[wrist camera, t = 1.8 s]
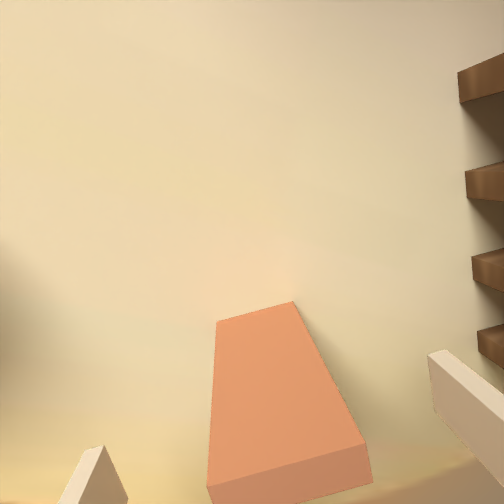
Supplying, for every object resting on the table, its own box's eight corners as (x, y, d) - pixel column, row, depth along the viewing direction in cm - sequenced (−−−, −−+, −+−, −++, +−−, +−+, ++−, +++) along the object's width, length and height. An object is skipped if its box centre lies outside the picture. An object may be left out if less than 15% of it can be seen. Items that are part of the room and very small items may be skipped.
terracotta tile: (216, 321, 20) (206, 486, 10) (292, 301, 20) (365, 443, 10) (223, 343, 21) (220, 525, 10) (297, 323, 21) (373, 482, 10)
